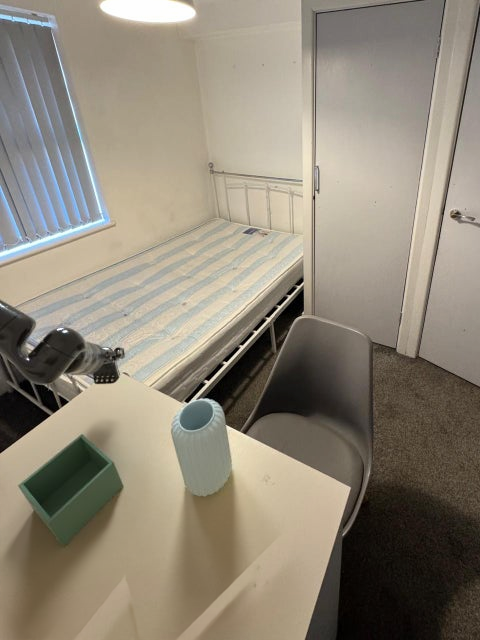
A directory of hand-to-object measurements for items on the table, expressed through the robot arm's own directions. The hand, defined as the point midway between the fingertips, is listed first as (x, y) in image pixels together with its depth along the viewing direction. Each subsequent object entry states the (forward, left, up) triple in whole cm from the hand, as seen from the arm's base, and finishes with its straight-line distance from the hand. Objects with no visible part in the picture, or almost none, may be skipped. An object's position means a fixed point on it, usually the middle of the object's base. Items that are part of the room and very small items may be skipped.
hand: (101, 360), depth 92 cm
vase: (+40, -1, -17) cm, 44 cm away
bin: (+17, -20, -17) cm, 31 cm away
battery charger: (+1, -1, -7) cm, 7 cm away
